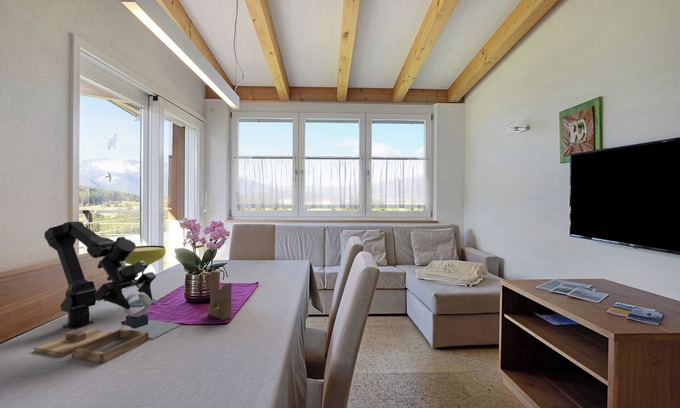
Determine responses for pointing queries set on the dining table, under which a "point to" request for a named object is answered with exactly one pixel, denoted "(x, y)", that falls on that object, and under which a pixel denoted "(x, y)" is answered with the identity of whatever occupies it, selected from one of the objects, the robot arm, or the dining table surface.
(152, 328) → the felt mat
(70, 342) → the lid
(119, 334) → the wooden rectangular frame
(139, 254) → the cocktail glass
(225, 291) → the wooden block
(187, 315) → the dining table surface
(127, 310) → the watch
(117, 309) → the dining table surface
